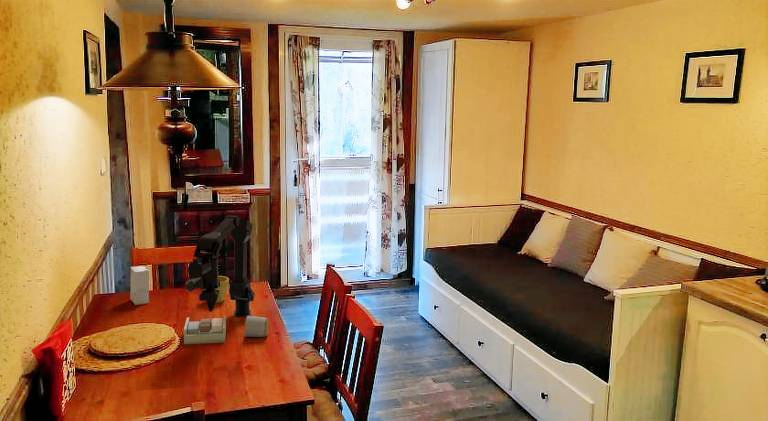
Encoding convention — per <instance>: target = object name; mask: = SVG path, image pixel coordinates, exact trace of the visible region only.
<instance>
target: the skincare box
mask: <svg viewBox="0 0 768 421" xmlns="http://www.w3.org/2000/svg"><path fill="white" fill-rule="evenodd" d="M129 297H130V298H129V299H130V301H132V303H133V304H134V305H135V306H137V305H139V306H140V305H144V304H149V303H150V271H149V270H148V268H147V267H145V266H144V265H141V266H139V265H138V266H130V296H129Z"/></svg>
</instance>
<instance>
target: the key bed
mask: <svg viewBox="0 0 768 421" xmlns="http://www.w3.org/2000/svg"><path fill="white" fill-rule="evenodd" d="M226 316H227V315H223V317H222V318H223V326H222V332H212V321H211V329H210V332H202V333H200V328H199V333H198V334H191V335H188V326H189V322H190V317H188V316H187V317H186V320H185V324H184V327H183V345H197V344H198V345H199V344H216V343H217V344H218V343H226V332H227V317H226Z"/></svg>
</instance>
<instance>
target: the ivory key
mask: <svg viewBox="0 0 768 421" xmlns="http://www.w3.org/2000/svg"><path fill="white" fill-rule="evenodd" d="M223 318H224V317H218V318H217V317H215V318H214V317H213V318H212V320H211V322H212V332H222V326H223Z"/></svg>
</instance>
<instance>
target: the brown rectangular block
mask: <svg viewBox="0 0 768 421" xmlns="http://www.w3.org/2000/svg"><path fill="white" fill-rule="evenodd" d="M211 322H212V318H200V333H202V332H210V329H211Z"/></svg>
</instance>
